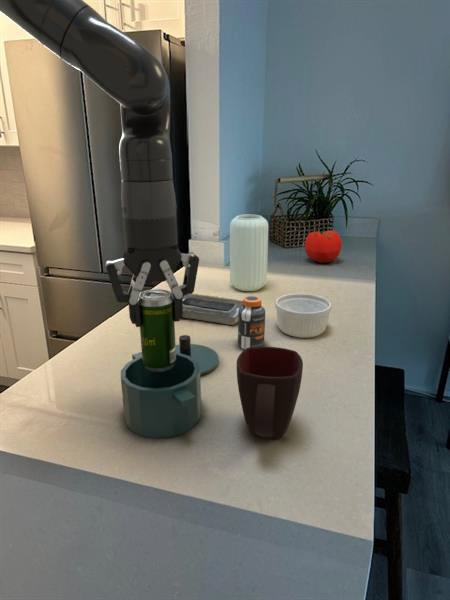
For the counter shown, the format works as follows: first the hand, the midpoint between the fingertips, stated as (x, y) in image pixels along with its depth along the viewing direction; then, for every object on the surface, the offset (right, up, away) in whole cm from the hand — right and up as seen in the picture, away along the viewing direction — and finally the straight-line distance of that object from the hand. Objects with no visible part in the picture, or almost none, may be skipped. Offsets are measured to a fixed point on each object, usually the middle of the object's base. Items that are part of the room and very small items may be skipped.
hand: (156, 321), depth 67 cm
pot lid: (+2, -9, +22) cm, 24 cm away
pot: (0, -16, +6) cm, 17 cm away
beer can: (0, -7, +3) cm, 8 cm away
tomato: (+47, +18, +97) cm, 110 cm away
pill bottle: (+16, -7, +30) cm, 35 cm away
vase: (+18, +7, +68) cm, 71 cm away
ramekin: (+29, -4, +38) cm, 48 cm away
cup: (+17, -18, +1) cm, 25 cm away
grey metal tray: (+4, 0, +49) cm, 49 cm away
